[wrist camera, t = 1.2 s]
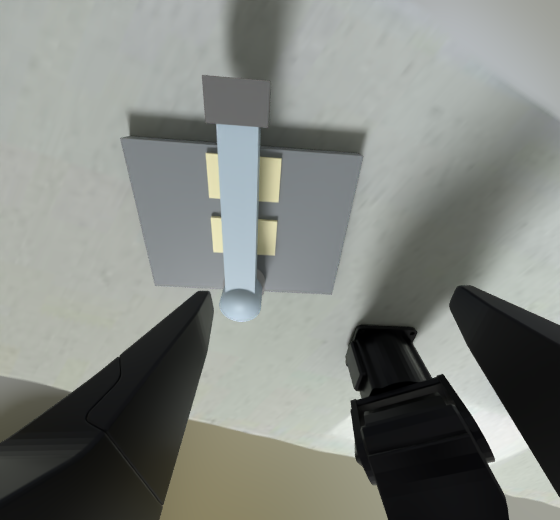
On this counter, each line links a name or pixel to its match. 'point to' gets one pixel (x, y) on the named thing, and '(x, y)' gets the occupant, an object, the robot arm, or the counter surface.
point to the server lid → (271, 213)
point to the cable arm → (238, 184)
